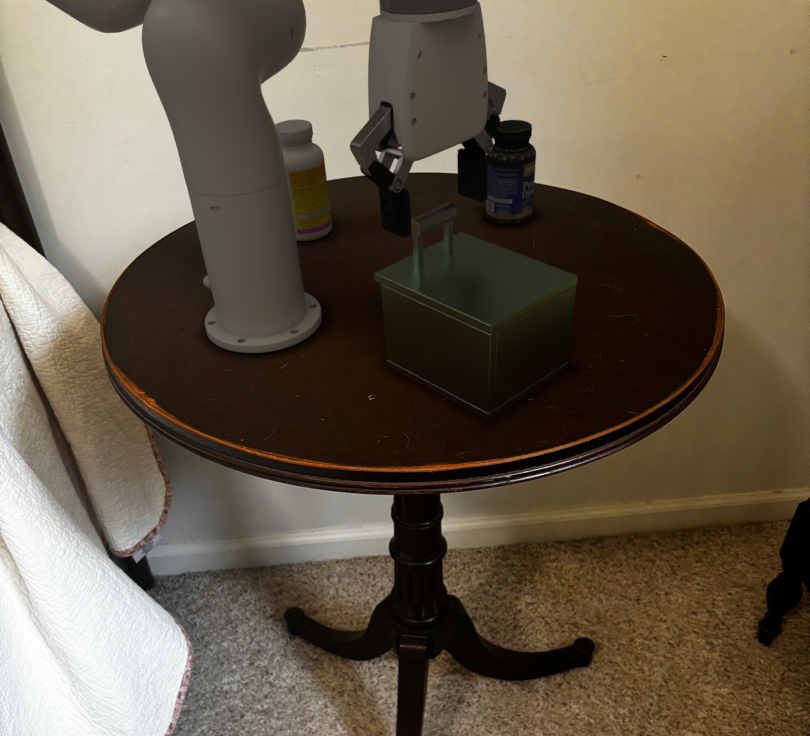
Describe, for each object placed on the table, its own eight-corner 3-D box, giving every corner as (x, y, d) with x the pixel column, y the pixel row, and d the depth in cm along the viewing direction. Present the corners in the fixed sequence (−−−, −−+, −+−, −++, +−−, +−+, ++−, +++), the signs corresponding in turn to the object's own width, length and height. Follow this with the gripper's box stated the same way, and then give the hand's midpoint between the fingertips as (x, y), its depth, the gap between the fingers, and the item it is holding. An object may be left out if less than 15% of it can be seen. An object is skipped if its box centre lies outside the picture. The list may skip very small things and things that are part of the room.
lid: (374, 281, 74) (370, 225, 70) (460, 239, 79) (460, 185, 76) (490, 334, 66) (492, 275, 63) (577, 283, 72) (583, 226, 68)
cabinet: (386, 366, 80) (380, 284, 74) (466, 321, 85) (466, 241, 79) (488, 421, 73) (490, 334, 66) (568, 368, 78) (577, 284, 72)
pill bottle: (530, 227, 101) (535, 134, 93) (482, 225, 102) (483, 134, 94) (534, 207, 105) (540, 117, 98) (488, 206, 106) (490, 116, 99)
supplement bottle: (343, 226, 104) (331, 120, 95) (312, 247, 100) (297, 138, 91) (302, 217, 107) (287, 113, 98) (271, 236, 103) (252, 130, 94)
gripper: (469, -37, 66) (470, 176, 78) (307, 7, 58) (336, 236, 70) (540, -29, 62) (530, 194, 74) (376, 19, 54) (394, 260, 66)
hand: (435, 214), depth 72 cm, fingers open, 9 cm apart
